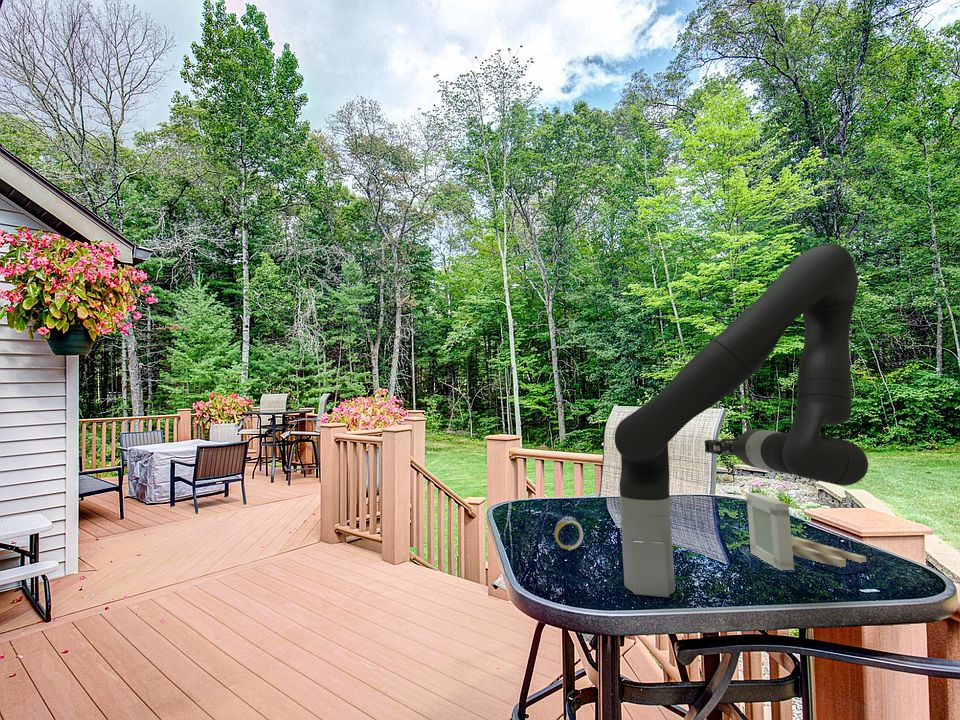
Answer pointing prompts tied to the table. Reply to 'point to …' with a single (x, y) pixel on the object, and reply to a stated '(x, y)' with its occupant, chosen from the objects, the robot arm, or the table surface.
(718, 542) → the table surface
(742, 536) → the table surface
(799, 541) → the ledge
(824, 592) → the table surface
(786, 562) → the frame
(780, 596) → the table surface
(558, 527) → the bracelet
